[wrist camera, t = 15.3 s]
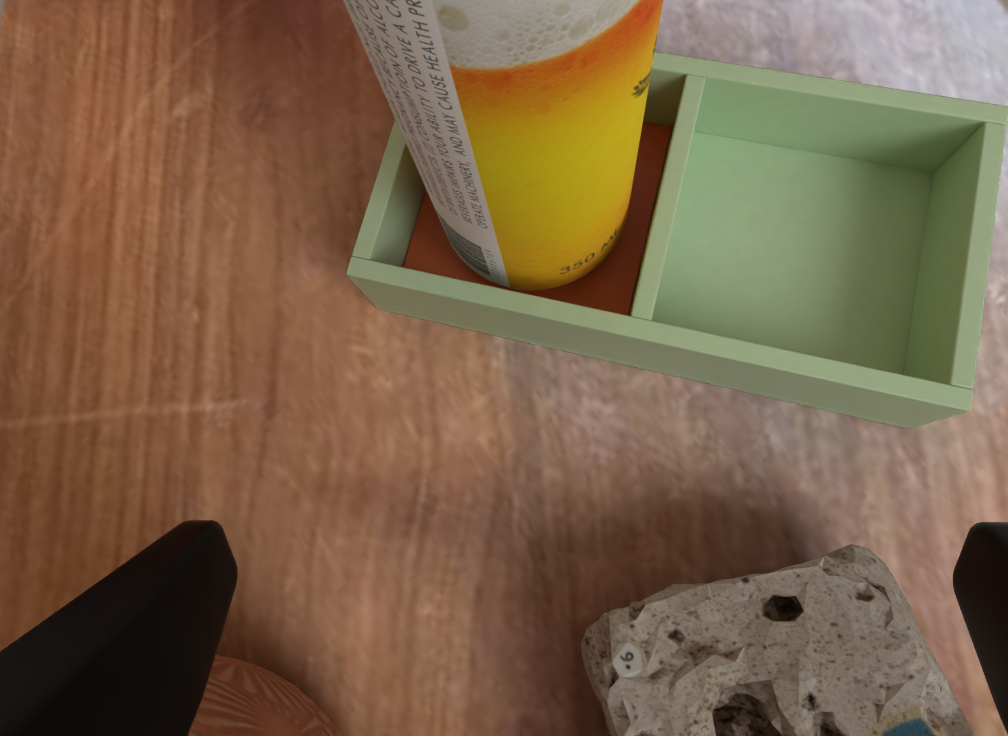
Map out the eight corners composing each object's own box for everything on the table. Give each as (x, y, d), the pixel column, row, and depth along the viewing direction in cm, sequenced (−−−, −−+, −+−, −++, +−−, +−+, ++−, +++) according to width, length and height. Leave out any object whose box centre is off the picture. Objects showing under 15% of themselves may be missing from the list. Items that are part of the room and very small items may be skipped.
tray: (909, 429, 21) (971, 411, 18) (376, 309, 24) (344, 274, 20) (947, 166, 23) (1010, 105, 20) (446, 81, 25) (427, 15, 22)
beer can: (661, 185, 23) (809, -398, 8) (559, 332, 22) (530, -32, 8) (512, 102, 24) (418, -531, 10) (411, 238, 24) (145, -228, 9)
